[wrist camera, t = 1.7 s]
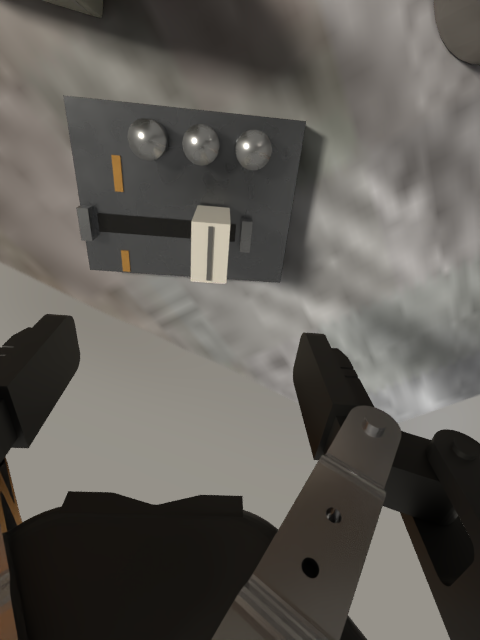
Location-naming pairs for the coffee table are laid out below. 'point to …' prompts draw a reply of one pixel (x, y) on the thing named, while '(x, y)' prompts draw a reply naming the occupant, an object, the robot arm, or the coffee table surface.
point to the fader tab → (210, 244)
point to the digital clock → (81, 6)
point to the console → (181, 184)
